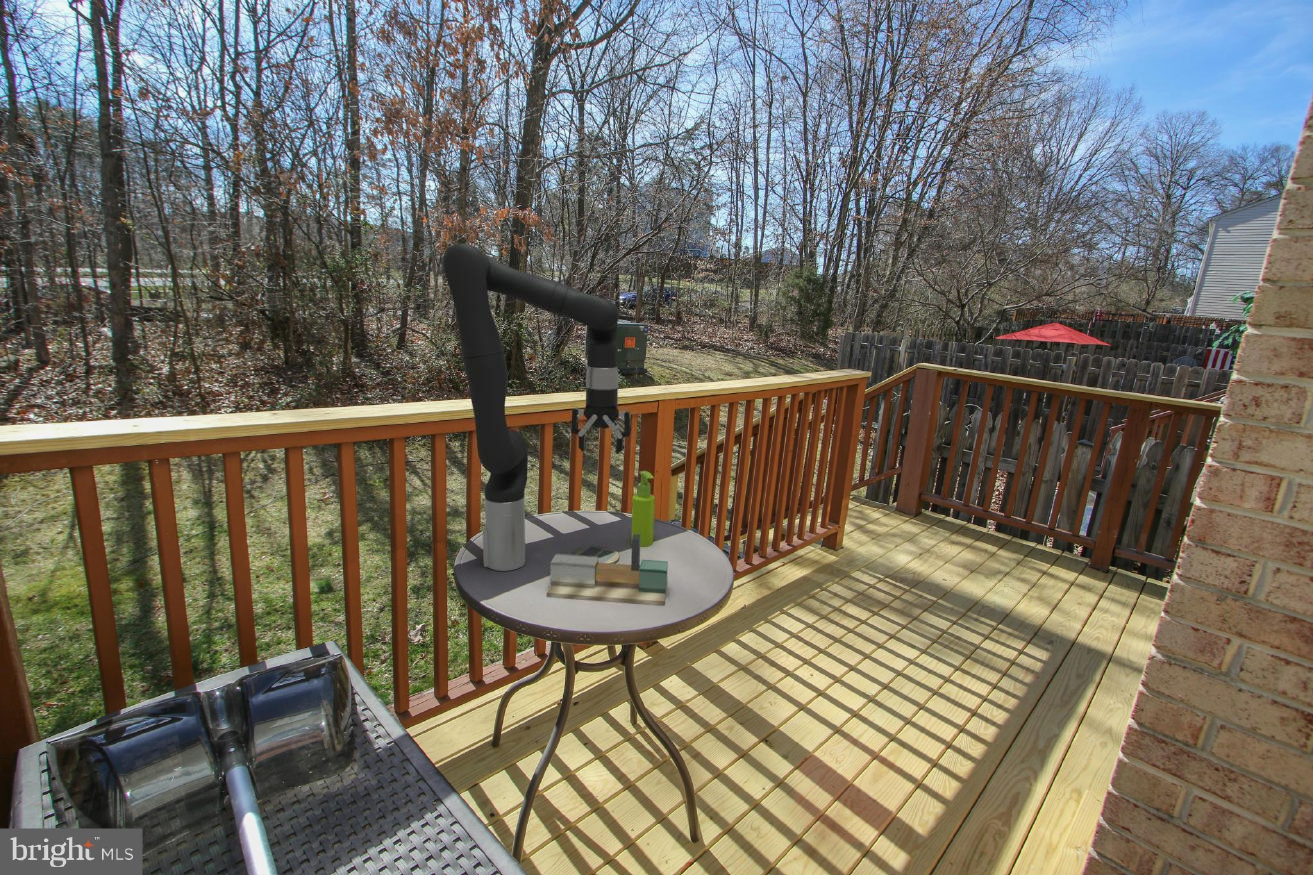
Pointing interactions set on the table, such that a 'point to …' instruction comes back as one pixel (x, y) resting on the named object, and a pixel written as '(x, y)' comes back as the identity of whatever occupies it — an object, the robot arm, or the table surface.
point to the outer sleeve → (573, 570)
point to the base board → (609, 593)
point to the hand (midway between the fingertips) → (600, 451)
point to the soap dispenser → (643, 511)
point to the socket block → (653, 576)
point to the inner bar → (621, 567)
